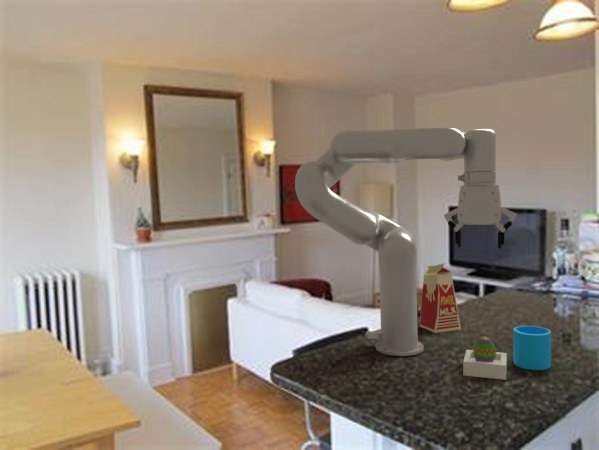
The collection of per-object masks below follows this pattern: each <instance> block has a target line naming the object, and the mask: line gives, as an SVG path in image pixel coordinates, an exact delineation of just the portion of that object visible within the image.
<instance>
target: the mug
mask: <svg viewBox="0 0 599 450" xmlns="http://www.w3.org/2000/svg"><path fill="white" fill-rule="evenodd" d="M512 330H513V333H512V334H513V337H512V339H513V340H512V341H513V348H512V349H513V355H512V356H513V358H512V359H513V360H512V361H513V362H512V363H513V364H514V365H515V366H517V367H519V368H522V369H526V370H534V371H543V370H548V369H550V368H551V367H552V331H551V330H550V329H548V328H546V327H541V326H536V325H519V326H516V327H513V329H512Z"/></svg>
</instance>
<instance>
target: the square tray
mask: <svg viewBox="0 0 599 450" xmlns="http://www.w3.org/2000/svg"><path fill="white" fill-rule="evenodd" d="M507 355H508V353H507V352H501V351H500V352H499V351H497V352H496V356H495V359H494V361H493V362H481V361H476V360H475V358H474V354H473V349H466V351H465V354H464V358H463V362H462V364H463V365H462V369H463V370H462V371H463V372H462V375H463V376H467V377H473V378H474V377H477V378H485V379H486V378H487V379H494V380H496V379H497V380H502V381H503V380H505V381H506V380H507V369H508V357H507Z"/></svg>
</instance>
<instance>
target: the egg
mask: <svg viewBox="0 0 599 450" xmlns="http://www.w3.org/2000/svg"><path fill="white" fill-rule="evenodd" d="M472 350H473V354H474V358H475V360H476V361H481V362H493V361H494V359H495V356H496V347H495V344H494V343H493V341H492V340H491V339H490V338H489V337H487V336H481V337H479V338H478V339H476V341H475V343H474V345H473V349H472Z"/></svg>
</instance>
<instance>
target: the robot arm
mask: <svg viewBox="0 0 599 450" xmlns="http://www.w3.org/2000/svg"><path fill="white" fill-rule="evenodd" d="M496 139H497V138H496V133H495V131H494V130H493V129H490V128H481V129H480V128H476V129H471V130H467V131H466V132H462V131H460V130H459V129H458V128H453V127H423V128H408V129H407V128H406V129H405V128H404V129H402V128H399V129H398V128H397V129H371V130H369V129H367V130H366V129H365V130H363V129H362V130H361V129H360V130H359V129H358V130H344V131H340V132H337V133H336V134H335V135H334V136H333V137H332V138H331V141H330V147H329V148H328V149H327V150H326V151H325V152H324V153H323V154H322V155H321V156H320V157H319V158H318V159H316V160H310V161H307V162H305V163H303V164H301V165H300V166H299V168H298V169H297V172H296V174H295V178H294V179H295V182H294V188H295V194H296V197H297V199H298V201H299V203H300V205H301V206H302V208H303V209H304V210H305V211H306V212H307V213H308V214H309V215H311V216H312V217H313V218H315V219H317V220H318V221H319V222H321V223H323V224H324V225H326V226H328V227H329V228H330V229H332V230H334V231H335V232H337V233H339V234H340V235H342V236H343V237H345V238H347V240H350V241H351V242H352V243H354V244H356V245H361V246H363V245H364V246H367V247H369V248H370V249H373V251H375V252H377V253H378V255H377V256H378V268H379V270H378V271H379V272H378V273H379V298H380V299H379V302H380V303H379V304H380V305H379V306H380V330H378V331H371V330H370V331H368V330H367V331H365V338H366V339H367V340H368V341H376V343H375V346H374V347H375V350H376V351H377V352H378V353H380V354H383V355H387V356H393V357H411V356H415V355H419V354H421V353H422V352H424V350H425V349H424V347H425V346H424V344H423V343H422V342H421V341H418V340H419V337H418V334H419V333H418V290H417V287H418V285H417V284H418V283H417V281H418V280H417V259H418V258H417V256H418V255H417V252H418V251H417V243H416V240H415V237H414V235H413V234H412V233H411V232H410V231H409V230H407V229H406V228H404V227H402V226H401V225H399V224H397V223H396V222H393V221H392V220H391V219H389V218H387V217H385V216H383V215H382V214H380V213H378V212H376V211H375V210H373V209H370V208H361V207H359V206H357V204H354V203H352V202H350V201H349V200H347V199H345V198H344V197H342V196H341V195H339V194H337V193H335V192H334V191H333V190H331V189H330V188H332V187H333V186H334V185H335V184H337V183H338V181H339V180H341V179H342V178H343V177H344V176H345V175H346V174H347V173H348V172H349V171H350V170H352V168H353V167H354V166H356V165H357V164H390V163H391V164H393V163H400V162H403V161H404V162H405V161H411V160H441V161H444V162H445V161H446V162H447V161H448V162H449V161H455V160H461V159H463V174H461V175H458V176H457V181H459V182H463V184H462V185H460V187H459V194H458V202H457V203H458V204H457V205H458V206H457V207H456V208H454V209H452V210H450V211H449V212H446V213H445V214H444V215H443V217H444V218H445V220H446V222H447V224H448V226H449V227H450V228H451V229H452V230H454V233H455V237H454V239H455V240H454V241H455V243H454V244H456V245H457V248H461V247H463V231H462V228H463V227H464V226H465V225H467V226H468V225H470V226H471V225H472V226H478V225H479V226H482V225H483V226H493V225H494V226H495V227H496V228H497V229H498V233H497V248H498V249H502V248H503V246H505V244H506V241H505V239H506V237H505V235H506V234H505V233H506V231H507V230H509V228H510V227H512V225H513V224H514V222H515V220H516V219H517V216H518V215H517V213H515V212H513V211H511V210H508V209H506V208H504V207H503V206H502V201H501V200H502V199H501V192H500V190H501V189H500V186H499V184H496V182H497V181H496V180H497V179H496V177H497V176H496V175H497V172H496V170H497V169H496V168H497V165H496V163H497V161H496V160H497V156H496V155H497V152H496V149H497V148H496V145H497V143H496ZM502 214H503V215H504V216H507V217H509V219H508V220H507V222H506V223H505V224H503V222H501V220H502ZM454 215H457V222H458V223H456V222H455V221H454V220H453V218H452V217H453V216H454Z"/></svg>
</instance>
